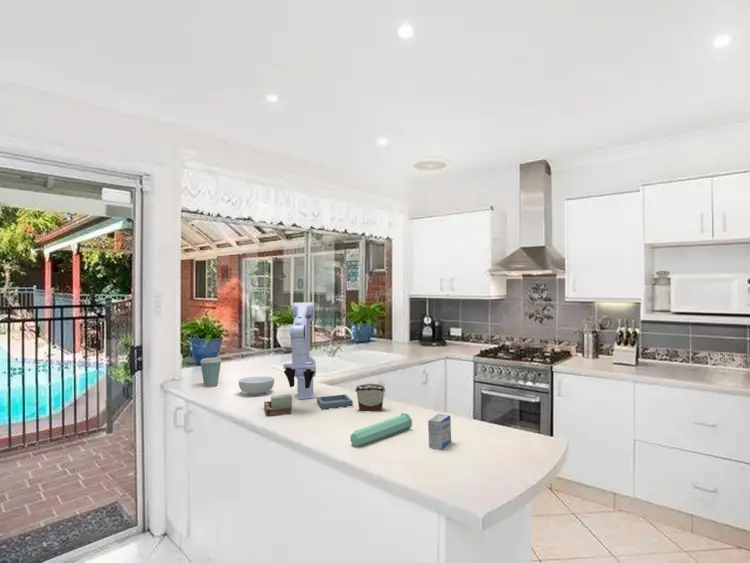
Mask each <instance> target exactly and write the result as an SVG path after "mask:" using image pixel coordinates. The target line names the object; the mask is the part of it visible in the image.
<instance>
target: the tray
mask: <svg viewBox="0 0 750 563" xmlns="http://www.w3.org/2000/svg"><path fill="white" fill-rule="evenodd" d="M316 403H317V405H318V404H319V405H318V406H319V407H320V409H321V408H322V409H325V410H330V409H329V408H334V409H340V408H339V407H343V408H348V407H347V406H354V405H353V400H352V398H350V397H349V396H348V394H346V393H345V394H344V393H343V394H334V395H326V396H325V395H324V396H318V397H316ZM322 409H321V410H322Z"/></svg>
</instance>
